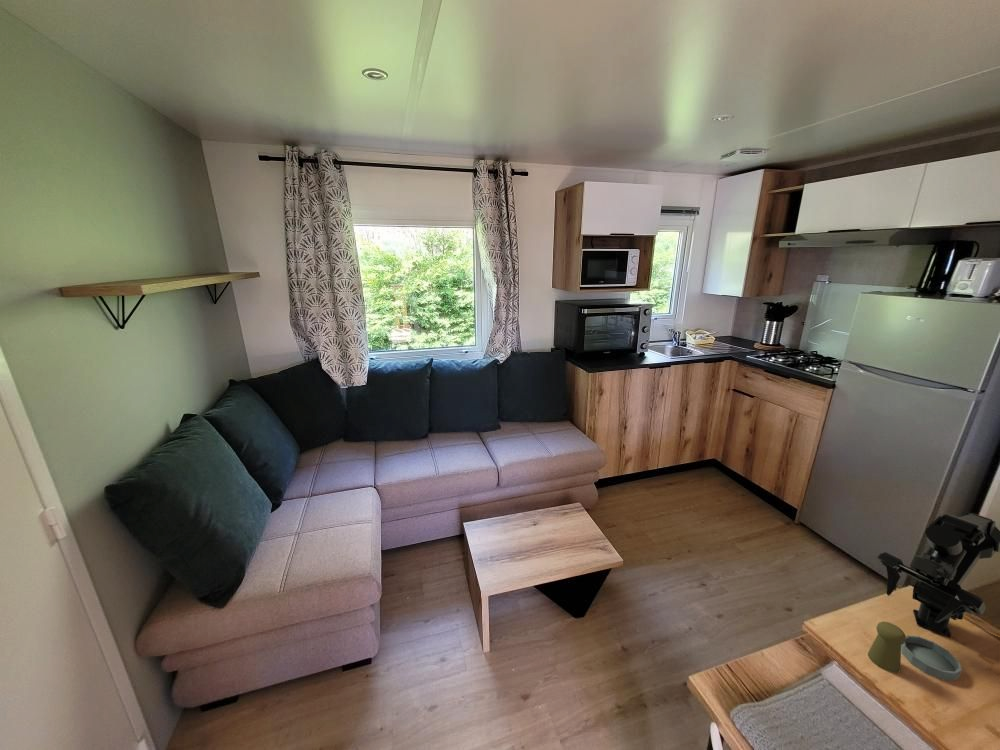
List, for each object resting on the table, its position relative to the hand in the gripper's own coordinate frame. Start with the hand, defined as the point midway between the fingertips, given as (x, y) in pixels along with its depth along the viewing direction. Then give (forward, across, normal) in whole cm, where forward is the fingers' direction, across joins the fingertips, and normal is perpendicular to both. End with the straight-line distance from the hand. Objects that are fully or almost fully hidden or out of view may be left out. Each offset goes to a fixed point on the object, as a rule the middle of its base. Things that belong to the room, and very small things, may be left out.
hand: (911, 607), depth 97 cm
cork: (+16, 0, +4) cm, 16 cm away
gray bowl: (+8, +5, +11) cm, 15 cm away
